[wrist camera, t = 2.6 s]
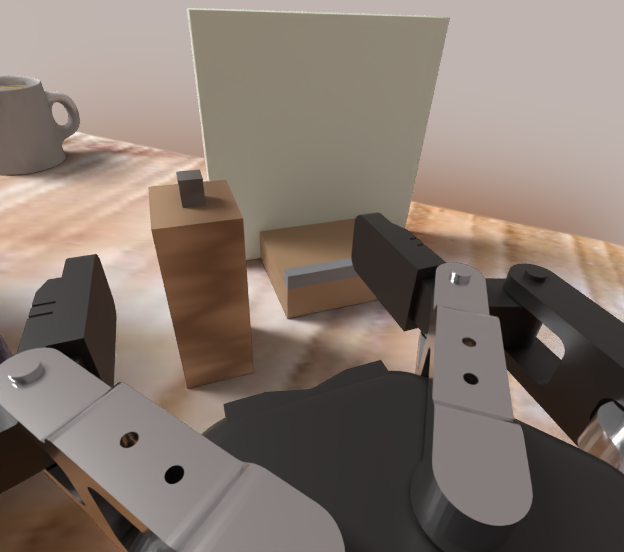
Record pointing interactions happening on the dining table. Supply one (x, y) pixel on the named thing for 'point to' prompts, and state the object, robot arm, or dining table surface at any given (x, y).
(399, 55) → the cleat board
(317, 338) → the dining table surface
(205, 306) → the knob board
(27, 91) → the coffee mug
